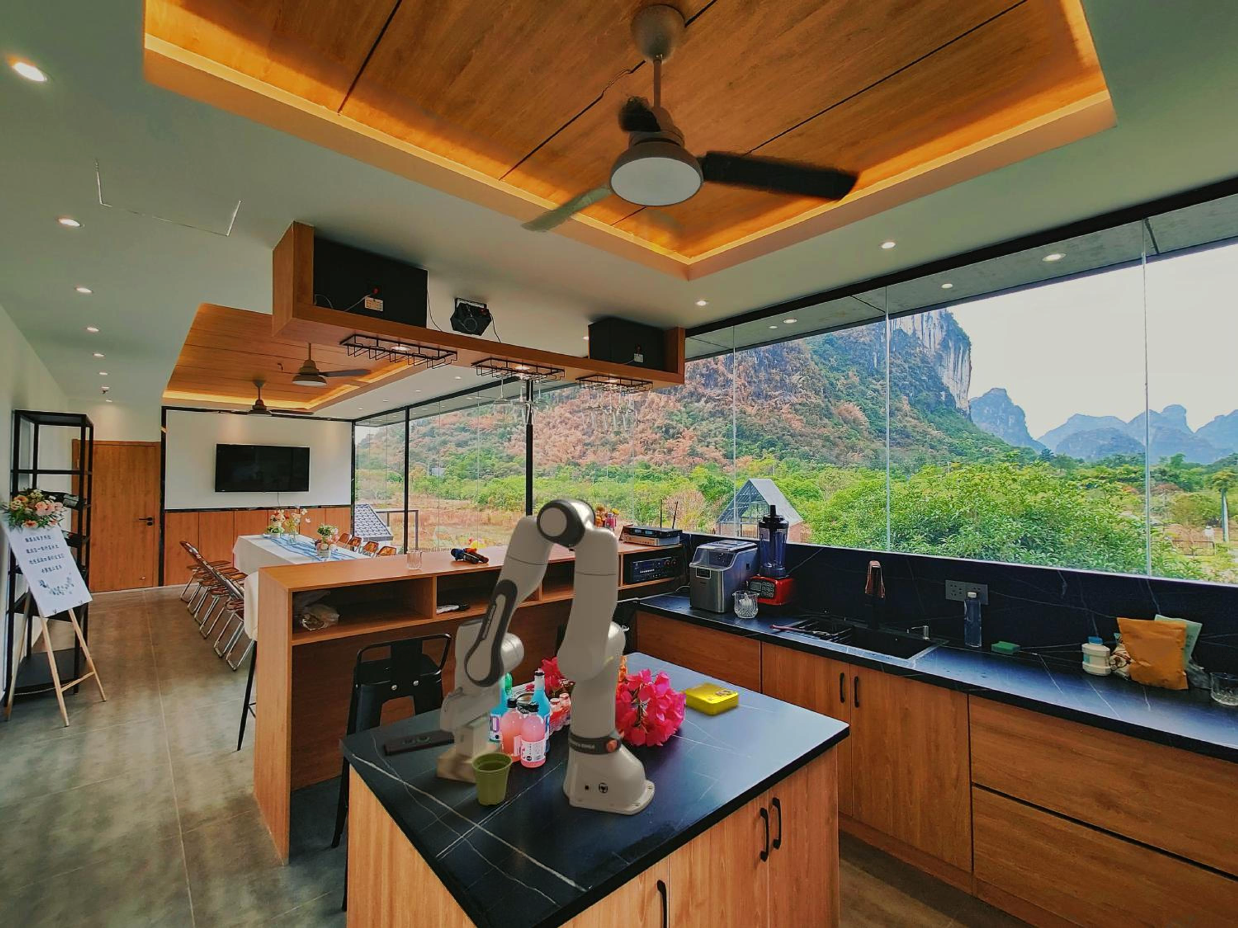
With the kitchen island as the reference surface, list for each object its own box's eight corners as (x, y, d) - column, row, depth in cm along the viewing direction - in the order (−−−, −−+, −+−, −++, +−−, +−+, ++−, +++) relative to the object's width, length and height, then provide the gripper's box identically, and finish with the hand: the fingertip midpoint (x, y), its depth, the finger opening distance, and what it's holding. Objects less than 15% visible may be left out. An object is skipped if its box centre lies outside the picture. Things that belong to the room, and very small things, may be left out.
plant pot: (491, 784, 138) (491, 748, 138) (519, 795, 133) (520, 758, 134) (462, 802, 130) (463, 764, 130) (492, 814, 125) (492, 775, 126)
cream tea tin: (487, 747, 147) (488, 717, 148) (472, 757, 142) (474, 726, 142) (469, 742, 150) (471, 712, 150) (454, 752, 144) (455, 721, 145)
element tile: (707, 693, 201) (707, 680, 201) (741, 705, 189) (741, 691, 190) (678, 703, 191) (678, 689, 191) (712, 717, 180) (712, 702, 180)
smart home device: (384, 739, 160) (456, 725, 169) (384, 745, 160) (456, 731, 169) (387, 751, 152) (461, 736, 161) (387, 757, 152) (461, 742, 161)
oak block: (502, 762, 150) (502, 743, 150) (478, 785, 138) (479, 764, 138) (463, 756, 153) (463, 737, 153) (437, 777, 142) (437, 757, 142)
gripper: (453, 697, 136) (452, 754, 135) (505, 672, 154) (504, 722, 154) (434, 692, 139) (433, 749, 138) (487, 669, 157) (486, 718, 157)
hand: (471, 735), depth 146 cm, fingers open, 8 cm apart
